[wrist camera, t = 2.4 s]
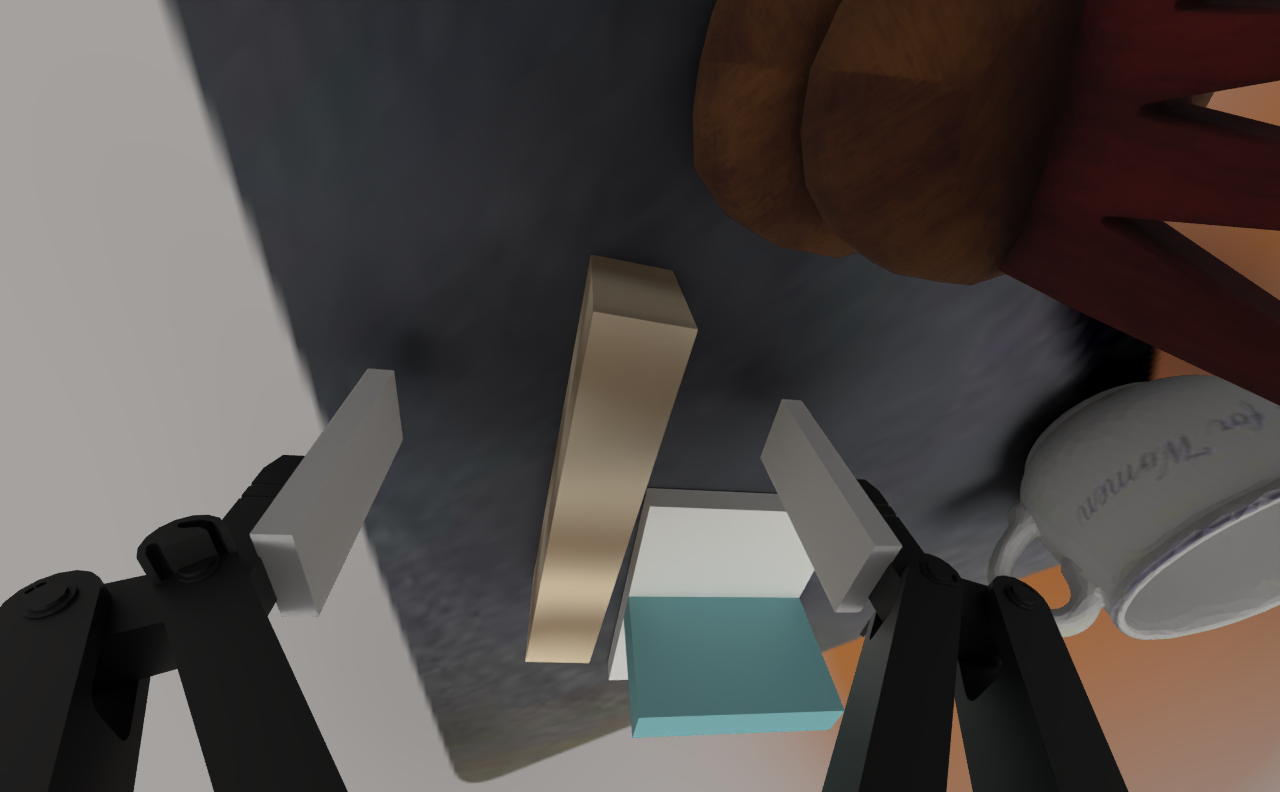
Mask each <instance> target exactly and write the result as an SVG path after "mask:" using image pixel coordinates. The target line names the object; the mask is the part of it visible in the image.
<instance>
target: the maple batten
mask: <svg viewBox="0 0 1280 792" xmlns="http://www.w3.org/2000/svg"><path fill="white" fill-rule="evenodd" d="M697 331H698V328H697V326H696V324H695V321H694V319H693V317H692V314H691V312H690V310H689V307H688V305H687V303H686V300H685V298H684V296H683V293H682V291H681V289H680V286H679V284H678V282H677V279H676V277H675V275H674V272H673V270H668V269H663V268H658V267H653V266H648V265H642V264H637V263H632V262H627V261H622V260H617V259H612V258H607V257H602V256H597V255H592V254H591V257H590V263H589V268H588V274H587V279H586V285H585V291H584V296H583V302H582V307H581V313H580V319H579V324H578V330H577V335H576V341H575V346H574V352H573V358H572V363H571V369H570V374H569V380H568V386H567V391H566V397H565V402H564V408H563V413H562V419H561V425H560V430H559V436H558V441H557V447H556V453H555V458H554V464H553V469H552V475H551V480H550V486H549V492H548V497H547V503H546V508H545V514H544V520H543V525H542V531H541V536H540V542H539V547H538V553H537V559H536V564H535V570H534V577H533V587H532V598H531V608H530V619H529V629H528V639H527V650H526V660H525V662H562V663H589V662H590V659H591V656H592V653H593V649H594V646H595V643H596V640H597V637H598V634H599V631H600V628H601V625H602V622H603V619H604V616H605V613H606V610H607V607H608V604H609V601H610V597H611V594H612V591H613V588H614V585H615V582H616V579H617V576H618V573H619V570H620V567H621V564H622V561H623V558H624V555H625V552H626V549H627V546H628V542H629V539H630V536H631V533H632V530H633V527H634V524H635V521H636V518H637V515H638V512H639V509H640V506H641V503H642V500H643V497H644V494H645V490H646V487H647V484H648V481H649V478H650V475H651V472H652V469H653V466H654V463H655V460H656V457H657V454H658V451H659V448H660V445H661V442H662V438H663V435H664V432H665V429H666V426H667V423H668V420H669V417H670V414H671V411H672V408H673V405H674V402H675V399H676V396H677V393H678V390H679V387H680V383H681V380H682V377H683V374H684V371H685V368H686V365H687V362H688V359H689V356H690V353H691V350H692V347H693V344H694V341H695V338H696V335H697Z"/></svg>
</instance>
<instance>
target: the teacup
mask: <svg viewBox="0 0 1280 792" xmlns="http://www.w3.org/2000/svg"><path fill="white" fill-rule="evenodd" d="M1008 522H1009V527H1008V528H1007V530H1006V531H1005V533H1004V534H1003V536H1002V537H1001V539H1000V540H999V542H998V543H997V545H996V547H995V549H994V551H993V554H992V556H991V558H990V561H989V565H988V584H990V583H991V582H992V581H993V580H994V578H995V577H996V576H1002V575H1005V576H1009V577H1012V572H1013V569H1014V565H1015V563H1016V561H1017V559H1018V557H1019V556H1020V554H1021V553H1022V552H1023V551H1024V549H1025V548H1026V547H1027V546H1028V545H1029V544H1030V543H1031V542H1032V541H1033V540H1034V539H1036V538H1038V539H1039V540H1040V541H1041V542H1042V543H1043V545H1044V546H1045V547H1046V548H1047V549H1048V550H1049V552H1050V553H1051V554H1052V555H1053V556H1054V557H1055V558H1056V560H1057V561H1058V562H1059V563H1060V564H1061V572H1062V574H1063V576H1064V578H1065V579H1066V581H1067V583H1068V585H1069V588H1070V591H1071V598H1070V601H1069V602H1068V603H1067V604H1066V605H1065V606H1064V607H1061V608H1059V609H1050V610H1051V612H1052V614H1053V617H1054V619H1055V621H1056V624H1057V626H1058V628H1059V631H1060V633H1061V635H1062V637H1068V636H1073V635H1076V634H1078V633H1080V632H1082V631H1084V630H1086V629H1087V628H1088V627H1089V626H1090V625H1091V624H1092V623H1093V622H1094V621H1095V619H1096V618H1097V616H1098V614H1099V612H1100V610H1101V608H1104V610H1106V611H1107V613H1108V614H1109V615H1110V617H1111V619H1112V621H1113V623H1114V624H1115V625H1116V627H1118V628H1119V630H1120V631H1122V632H1123V633H1124V634H1126V635H1128V636H1130V637H1133V638H1137V639H1146V640H1151V639H1168V638H1175V637H1179V636H1185V635H1190V634H1194V633H1198V632H1203V631H1207V630H1211V629H1215V628H1219V627H1222V626H1225V625H1228V624H1232V623H1235V622H1237V621H1240V620H1243V619H1245V618H1248V617H1250V616H1253V615H1256V614H1258V613H1262V612H1264V611H1267V610H1269V609H1271V608H1273V607H1276V606H1278V605H1280V406H1279V405H1277V404H1275V403H1273V402H1271V401H1268V400H1266V399H1264V398H1262V397H1260V396H1258V395H1256V394H1254V393H1251V392H1249V391H1247V390H1245V389H1243V388H1241V387H1239V386H1237V385H1235V384H1232V383H1230V382H1228V381H1226V380H1224V379H1222V378H1220V377H1216V376H1207V375H1182V376H1175V377H1167V378H1161V379H1156V380H1152V381H1148V382H1137V383H1131V384H1126V385H1122V386H1118V387H1115V388H1111V389H1109V390H1106V391H1103V392H1101V393H1098V394H1096V395H1094V396H1092V397H1090V398H1088V399H1086V400H1084V401H1082V402H1080V403H1079V404H1077V405H1075V406H1074V407H1072V408H1071V409H1069V410H1068V411H1066V412H1065V413H1063V414H1062V415H1061V416H1060V417H1059V418H1057V419H1056V420H1055V421H1054V422H1053V423H1052V424H1051V425H1050V426H1049V427H1047V428H1046V429H1045V430H1044V431H1043V433H1042V434H1041V435H1040V436H1039V437H1038V439H1037V440H1036V442H1035V443H1034V445H1033V446H1032V448H1031V450H1030V452H1029V455H1028V458H1027V460H1026V463H1025V473H1024V476H1023V479H1022V482H1021V488H1020V501H1019V503H1017V504H1015V505H1014V506H1012V507H1011V509H1010V511H1009V513H1008Z"/></svg>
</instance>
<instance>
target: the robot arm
mask: <svg viewBox="0 0 1280 792" xmlns="http://www.w3.org/2000/svg"><path fill="white" fill-rule="evenodd" d="M402 440H403V436H402V428H401V420H400V413H399V405H398V398H397V390H396V382H395V375H394V370H381V369H367V370H366V372H365V373H364V374H363V376H362V377H361V379H360V380H359V381H358V383H357V384H356V386H355V387H354V388H353V390H352V391H351V393H350V394H349V395H348V397H347V398H346V400H345V401H344V402H343V404H342V405H341V407H340V408H339V409H338V411H337V412H336V414H335V415H334V416H333V418H332V419H331V421H330V422H329V423H328V425H327V426H326V428H325V429H324V430H323V432H322V433H321V435H320V436H319V438H318V439H317V440H316V442H315V443H314V445H313V446H312V447H311V449H310V450H309V451H308V453H307V454H306V456H295V455H282V456H281V457H280V458H278V459H276V460H275V461H274V462H272V463H270V464H269V465H267V466H266V467H264V468H263V469H262V471H261V472H260V473H259V474H258V476H257V477H256V478H255V480H254V481H253V482H252V485H251V486H249V487H248V488H247V489H246V491H245V492H244V493H243V494H242V498H241V499H238V501H237V502H236V503H235V504H234V506H233V507H232V508H231V509H230V511H229V512H228V513H227V514H226V516H225V517H224V518H223V520H221V519H220V518H219V517H215V516H211V515H194V516H189V517H185V518H182V519H178V520H174V521H172V522H170V523H168V524H166V525H164V526H162V527H159V528H158V529H157V530H155V531H154V532H153V533H151V534H150V535H148V536H147V537H146V538H145V539H144V541H143V542H142V543H141V545H140V546H139V547H138V550H137V560H138V561H139V563H140V565H141V567H142V568H143V570H144V572H145V573H146V575H144V576H139V577H134V578H130V579H126V580H120V581H116V582H111V583H106V584H104V583H103V582H102V580H101V579H100V578H99V577H98V576H96V575H95V574H94V573H92V572H89V571H80V570H75V571H69V572H62V573H57V574H55V575H52V576H49V577H46V578H43V579H40V580H38V581H36V582H34V583H32V584H30V585H28V586H27V587H25V588H23V589H21V590H19V591H18V592H17V593H15V594H14V595H13V596H12V597H10V598H9V599H8V600H6V601H5V602H4V603H3V604H2V606H1V607H0V792H133V791H134V785H135V778H136V771H137V764H138V757H139V749H140V744H141V737H142V730H143V723H144V717H145V710H146V703H147V696H148V690H149V683H150V676H153V675H157V674H160V673H164V672H168V671H171V670H175V669H178V672H179V675H180V678H181V682H182V685H183V688H184V692H185V695H186V699H187V702H188V705H189V709H190V712H191V715H192V719H193V722H194V725H195V729H196V732H197V736H198V739H199V742H200V746H201V749H202V752H203V756H204V759H205V763H206V766H207V769H208V773H209V776H210V779H211V783H212V786H213V790H214V792H348V791H347V789H346V787H345V785H344V783H343V780H342V778H341V776H340V774H339V772H338V769H337V767H336V765H335V763H334V761H333V759H332V756H331V754H330V752H329V750H328V748H327V746H326V743H325V741H324V739H323V737H322V735H321V732H320V730H319V728H318V726H317V724H316V721H315V719H314V717H313V715H312V713H311V711H310V708H309V706H308V704H307V702H306V700H305V697H304V695H303V693H302V691H301V689H300V687H299V684H298V682H297V680H296V678H295V676H294V674H293V671H292V669H291V667H290V665H289V662H288V660H287V658H286V656H285V654H284V652H283V649H282V647H281V645H280V643H279V641H278V639H277V636H276V634H275V632H274V630H273V628H272V626H271V623H270V621H269V619H268V614H269V613H270V611H271V610H272V608H273V606H274V604H275V603H277V606H278V608H279V610H280V613H281V616H282V617H298V616H300V617H302V616H303V617H305V616H319V614H320V612H321V610H322V608H323V606H324V604H325V602H326V599H327V598H328V595H329V593H330V591H331V589H332V587H333V585H334V583H335V581H336V579H337V577H338V574H339V572H340V570H341V568H342V566H343V564H344V562H345V560H346V558H347V556H348V553H349V551H350V549H351V547H352V545H353V543H354V541H355V539H356V537H357V535H358V533H359V531H360V528H361V526H362V524H363V522H364V520H365V518H366V516H367V514H368V512H369V510H370V507H371V505H372V503H373V501H374V499H375V497H376V495H377V493H378V491H379V489H380V487H381V484H382V482H383V480H384V478H385V476H386V474H387V472H388V470H389V468H390V466H391V463H392V461H393V459H394V457H395V455H396V453H397V451H398V449H399V447H400V445H401V443H402ZM760 458H761V460H762V462H763V464H764V466H765V468H766V470H767V472H768V475H769V477H770V479H771V481H772V483H773V485H774V487H775V489H776V491H777V493H778V495H779V497H780V499H781V501H782V504H783V506H784V508H785V510H786V512H787V514H788V516H789V518H790V520H791V522H792V524H793V526H794V528H795V531H796V533H797V535H798V537H799V539H800V541H801V543H802V545H803V547H804V549H805V551H806V553H807V555H808V557H809V560H810V562H811V564H812V566H813V568H814V570H815V572H816V574H817V576H818V578H819V580H820V582H821V584H822V586H823V589H824V591H825V593H826V595H827V597H828V599H829V601H830V603H831V605H832V607H833V609H834V611H835V612H860V611H861V610H862V608H863V606H864V605H865V603H866V602H867V600H868V599H869V600H870V601H871V603H872V605H873V607H874V609H875V610H876V611H875V612H874V614H873V615H872V617H871V618H870V620H869V621H868V623H867V624H866V626H865V627H864V629H863V630H862V632H861V633H860V635H861V636H863V637H864V636H865V634H866V636H865V640H864V644H863V647H862V651H861V654H860V658H859V661H858V665H857V669H856V672H855V676H854V679H853V683H852V686H851V690H850V693H849V697H848V700H847V704H846V708H845V711H844V715H843V719H842V722H841V725H840V729H839V733H838V736H837V740H836V743H835V747H834V751H833V754H832V757H831V761H830V765H829V768H828V772H827V775H826V779H825V782H824V786H823V790H822V792H946V789H947V777H948V766H949V754H950V742H951V730H952V719H953V708H954V697H955V702H956V707H957V713H958V718H959V723H960V728H961V733H962V738H963V743H964V748H965V753H966V758H967V764H968V769H969V774H970V779H971V784H972V789H973V792H1128V790H1127V787H1126V785H1125V783H1124V780H1123V778H1122V776H1121V773H1120V771H1119V768H1118V766H1117V764H1116V761H1115V759H1114V757H1113V755H1112V752H1111V750H1110V747H1109V745H1108V743H1107V740H1106V738H1105V736H1104V733H1103V731H1102V729H1101V726H1100V724H1099V722H1098V719H1097V717H1096V715H1095V712H1094V710H1093V708H1092V705H1091V703H1090V701H1089V698H1088V696H1087V694H1086V692H1085V689H1084V687H1083V684H1082V682H1081V680H1080V677H1079V675H1078V673H1077V671H1076V668H1075V666H1074V664H1073V661H1072V659H1071V656H1070V654H1069V652H1068V649H1067V647H1066V645H1065V642H1064V640H1063V638H1062V635H1061V633H1060V631H1059V628H1058V626H1057V624H1056V621H1055V619H1054V617H1053V614H1052V612H1051V610H1050V608H1049V606H1048V604H1047V603H1046V601H1045V600H1044V598H1043V597H1042V596H1041V595H1040V594H1039V593H1038V592H1037V591H1036V590H1035V589H1033V588H1032V587H1031V586H1029V585H1027V584H1026V583H1024V582H1022V581H1020V580H1018V579H1016V578H1014V577H1009V576H1005V575H1002V576H996V577H995V578H994V580H993V581H992V582H991V583H990V584H989V585H988V586H986V585H983V584H979V583H976V582H972V581H969V580H965V579H962V578H961V577H960V576H959V574H958V573H957V571H956V570H955V569H953V568H952V567H951V566H950V565H949V564H948V563H946V562H945V561H943V560H942V559H940V558H938V557H936V556H933V555H930V554H925V553H924V552H923V551H922V549H921V548H920V546H919V545H918V544H917V542H916V541H915V540H914V538H913V537H912V536H911V534H910V533H909V531H908V530H907V529H906V527H905V526H904V525H903V523H902V522H901V520H900V519H899V518H898V517H896V514H895V512H894V511H893V509H892V508H891V507H889V506H888V503H887V501H886V500H885V499H884V497H883V496H882V494H881V493H880V492H879V491H878V490H877V489H876V488H875V487H873V486H872V485H871V484H870V483H869V482H867V481H866V480H862V479H856V478H855V477H854V475H853V474H852V473H851V471H850V470H849V468H848V467H847V465H846V464H845V463H844V461H843V460H842V458H841V457H840V455H839V454H838V452H837V451H836V450H835V448H834V447H833V445H832V444H831V442H830V441H829V439H828V438H827V437H826V435H825V434H824V432H823V431H822V429H821V428H820V426H819V425H818V424H817V422H816V421H815V419H814V418H813V416H812V415H811V414H810V412H809V411H808V409H807V408H806V406H805V405H804V403H803V402H802V401H801V400H788V399H782V400H781V403H780V406H779V408H778V411H777V414H776V416H775V419H774V422H773V425H772V427H771V430H770V433H769V435H768V438H767V441H766V444H765V446H764V449H763V452H762V454H761V457H760Z"/></svg>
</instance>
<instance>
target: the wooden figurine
mask: <svg viewBox="0 0 1280 792" xmlns="http://www.w3.org/2000/svg"><path fill="white" fill-rule="evenodd" d="M1279 80H1280V0H717V2H716V4H715V6H714V9H713V11H712V14H711V18H710V22H709V26H708V30H707V34H706V38H705V42H704V46H703V50H702V54H701V58H700V62H699V69H698V76H697V83H696V90H695V97H694V104H693V111H692V112H693V148H694V168H695V170H696V171H697V173H698V174H699V176H700V177H701V179H702V180H703V182H704V183H705V185H706V186H707V188H708V189H709V191H710V192H711V194H712V195H713V197H714V198H715V200H716V201H717V203H718V204H719V206H720V207H721V208H722V209H723V211H724V212H725V213H726V214H727V216H728V217H730V218H732V219H733V220H735V221H736V222H738V223H740V224H741V225H743V226H744V227H746V228H748V229H749V230H751V231H753V232H754V233H756V234H758V235H760V236H761V237H763V238H765V239H766V240H768V241H770V242H771V243H773V244H775V245H776V246H778V247H780V248H786V249H793V250H799V251H804V252H809V253H814V254H819V255H824V256H829V257H834V258H839V257H843V256H846V255H850V254H853V253H857V252H859V253H861V254H862V255H863V256H865V257H866V258H867V259H869V260H870V261H871V262H873V263H875V264H877V265H879V266H881V267H882V268H884V269H886V270H888V271H890V272H892V273H894V274H899V275H904V276H910V277H915V278H921V279H927V280H932V281H938V282H945V283H954V284H963V285H973V284H976V283H979V282H982V281H985V280H988V279H992V278H995V277H998V276H1001V275H1004V274H1007V275H1009V276H1011V277H1013V278H1015V279H1017V280H1019V281H1021V282H1023V283H1024V284H1026V285H1028V286H1030V287H1032V288H1034V289H1036V290H1038V291H1040V292H1042V293H1044V294H1046V295H1048V296H1050V297H1052V298H1054V299H1056V300H1058V301H1059V302H1061V303H1063V304H1065V305H1067V306H1069V307H1071V308H1073V309H1075V310H1078V311H1080V312H1082V313H1084V314H1086V315H1088V316H1090V317H1092V318H1095V319H1097V320H1099V321H1101V322H1103V323H1105V324H1107V325H1109V326H1111V327H1114V328H1116V329H1118V330H1120V331H1122V332H1124V333H1126V334H1128V335H1131V336H1133V337H1135V338H1137V339H1139V340H1141V341H1143V342H1145V343H1148V344H1150V345H1152V346H1154V347H1156V348H1158V349H1160V350H1162V351H1165V352H1167V353H1169V354H1171V355H1173V356H1175V357H1177V358H1179V359H1181V360H1184V361H1186V362H1188V363H1190V364H1192V365H1194V366H1196V367H1198V368H1201V369H1203V370H1205V371H1207V372H1209V373H1211V374H1213V375H1215V376H1218V377H1220V378H1222V379H1224V380H1226V381H1228V382H1230V383H1232V384H1235V385H1237V386H1239V387H1241V388H1243V389H1245V390H1247V391H1249V392H1251V393H1254V394H1256V395H1258V396H1260V397H1262V398H1264V399H1266V400H1268V401H1271V402H1273V403H1275V404H1277V405H1279V406H1280V300H1278V299H1277V298H1275V297H1274V296H1272V295H1271V294H1269V293H1268V292H1266V291H1265V290H1263V289H1262V288H1261V287H1259V286H1258V285H1256V284H1254V283H1253V282H1252V281H1250V280H1249V279H1247V278H1246V277H1244V276H1243V275H1241V274H1240V273H1238V272H1237V271H1235V270H1234V269H1232V268H1231V267H1230V266H1228V265H1227V264H1225V263H1224V262H1222V261H1220V260H1219V259H1217V258H1216V257H1215V256H1213V255H1212V254H1210V253H1209V252H1207V251H1206V250H1204V249H1203V248H1201V247H1200V246H1199V245H1197V244H1196V243H1194V242H1193V241H1191V240H1189V239H1188V238H1187V237H1185V236H1184V235H1182V234H1181V233H1179V232H1178V231H1176V230H1175V229H1173V228H1172V227H1171V226H1169V225H1168V224H1166V223H1165V222H1163V221H1172V222H1183V223H1196V224H1207V225H1220V226H1230V227H1242V228H1255V229H1267V230H1277V231H1280V126H1276V125H1273V124H1268V123H1265V122H1261V121H1256V120H1253V119H1249V118H1245V117H1241V116H1237V115H1233V114H1229V113H1225V112H1221V111H1217V110H1213V109H1209V108H1206V106H1207V104H1208V103H1209V101H1210V99H1211V97H1212V95H1213V93H1214V92H1216V91H1221V90H1227V89H1233V88H1239V87H1245V86H1250V85H1256V84H1262V83H1268V82H1273V81H1279Z"/></svg>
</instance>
